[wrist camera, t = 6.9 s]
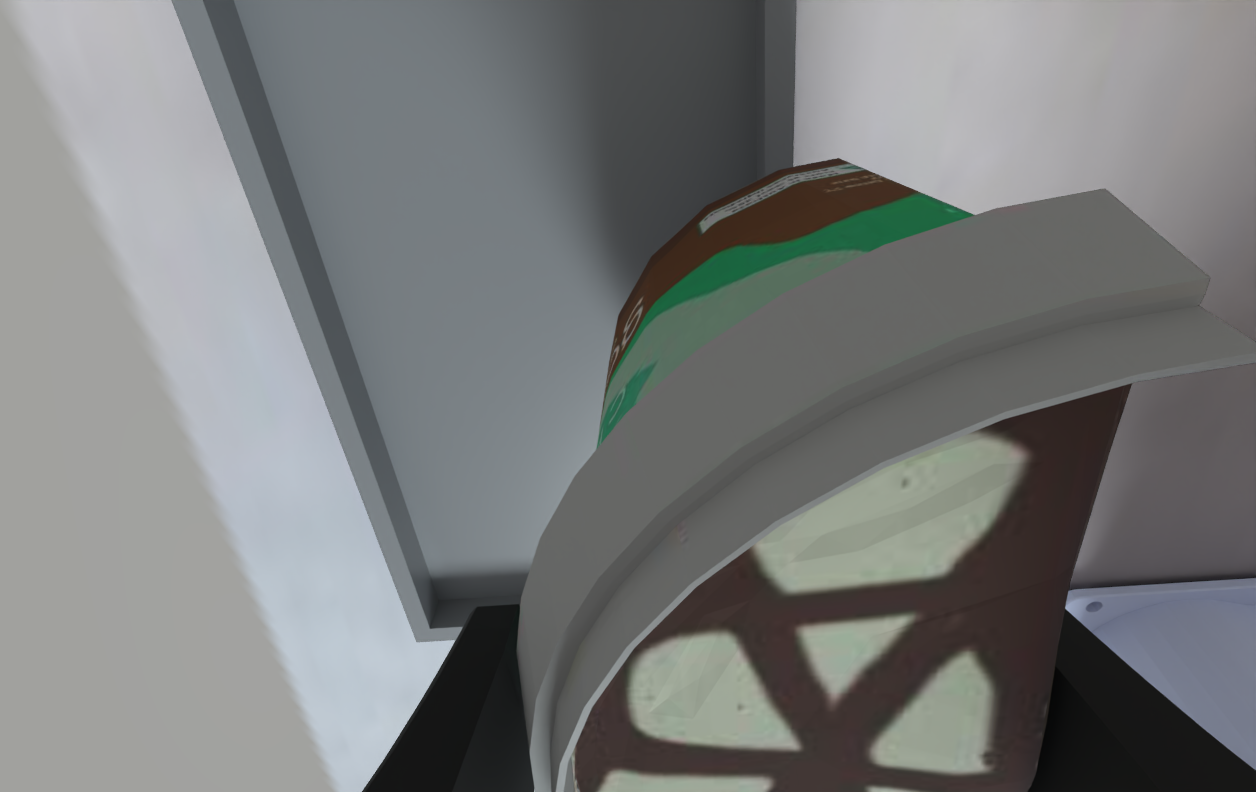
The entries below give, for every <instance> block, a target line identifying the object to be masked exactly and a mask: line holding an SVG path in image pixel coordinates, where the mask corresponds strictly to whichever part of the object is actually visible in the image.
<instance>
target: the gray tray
mask: <svg viewBox="0 0 1256 792" xmlns="http://www.w3.org/2000/svg"><path fill="white" fill-rule="evenodd" d="M172 3H173V5H174V8H175V10H176V13H177V16H178V18H179V21H180V24H181V26H182V29H183V31H184V34H185V37H186V39H187V42H188V45H189V47H190V50H191V52H192V55H193V58H194V60H195V63H196V65H197V68H198V71H199V73H200V76H201V79H202V81H203V84H204V86H205V89H206V92H207V94H208V97H209V100H210V102H211V105H212V107H213V110H214V113H215V115H216V118H217V121H218V123H219V126H220V128H221V131H222V134H223V136H224V139H225V141H226V144H227V147H228V149H229V152H230V155H231V157H232V160H233V162H234V165H235V168H236V170H237V173H238V176H239V178H240V181H241V183H242V186H243V189H244V191H245V194H246V196H247V199H248V202H249V204H250V207H251V210H252V212H253V215H254V217H255V220H256V223H257V225H258V228H259V231H260V233H261V236H262V238H263V241H264V244H265V246H266V249H267V252H268V254H269V257H270V259H271V262H272V265H273V267H274V270H275V272H276V275H277V278H278V280H279V283H280V286H281V288H282V291H283V293H284V296H285V299H286V301H287V304H288V307H289V309H290V312H291V314H292V317H293V320H294V322H295V325H296V327H297V330H298V333H299V335H300V338H301V341H302V343H303V346H304V348H305V351H306V354H307V356H308V359H309V362H310V364H311V367H312V369H313V372H314V375H315V377H316V380H317V383H318V385H319V388H320V390H321V393H322V396H323V398H324V401H325V403H326V406H327V409H328V411H329V414H330V417H331V419H332V422H333V424H334V427H335V430H336V432H337V435H338V438H339V440H340V443H341V445H342V448H343V451H344V453H345V456H346V458H347V461H348V464H349V466H350V469H351V472H352V474H353V477H354V479H355V482H356V485H357V487H358V490H359V493H360V495H361V498H362V500H363V503H364V506H365V508H366V511H367V514H368V516H369V519H370V521H371V524H372V527H373V529H374V532H375V534H376V537H377V540H378V542H379V545H380V548H381V550H382V553H383V555H384V558H385V561H386V563H387V566H388V569H389V571H390V574H391V576H392V579H393V582H394V584H395V587H396V589H397V592H398V595H399V597H400V600H401V603H402V605H403V608H404V610H405V613H406V616H407V618H408V621H409V624H410V626H411V629H412V631H413V634H414V637H415V639H416V642H429V641H445V640H456V639H457V637H458V635H459V634H460V632H461V630H462V628H463V626H464V624H465V622H466V620H467V619H468V617H469V615H470V613H471V612H472V611H473V610H474V609H475V608H476V607H479V606H495V605H511V604H519V606H520V604H521V596H522V593H523V590H524V587H525V583H526V580H527V577H528V574H529V571H530V568H531V565H532V561H533V558H534V555H535V552H536V549H537V546H538V543H539V539H540V537H541V536H542V534H543V532H544V530H545V528H546V527H547V525H548V523H549V521H550V519H551V518H552V516H553V514H554V512H555V510H556V509H557V507H558V505H559V503H560V501H561V500H562V498H563V496H564V494H565V492H566V491H567V489H568V487H569V485H570V484H571V482H572V480H573V478H574V476H575V475H576V474H577V473H578V471H579V470H580V469H581V468H582V467H583V465H584V464H585V463H586V462H587V460H588V459H589V458H590V457H591V456H592V454H593V453H594V452H595V451H596V448H597V441H598V435H599V428H600V421H601V414H602V407H603V401H604V394H605V387H606V380H607V373H608V366H609V360H610V355H611V350H612V345H613V340H614V335H615V329H616V324H617V319H618V315H619V313H620V311H621V309H622V308H623V306H624V304H625V302H626V300H627V299H628V297H629V295H630V293H631V291H632V290H633V288H634V286H635V284H636V283H637V281H638V279H639V277H640V275H641V274H642V272H643V270H644V268H645V267H646V265H647V263H648V261H649V259H650V258H651V256H652V255H653V254H654V253H655V252H656V251H658V250H659V249H660V248H661V247H662V246H663V245H664V244H665V243H666V242H667V241H668V240H669V239H671V238H672V237H673V236H674V235H675V234H676V233H677V232H678V231H679V230H680V229H681V228H682V227H684V226H685V225H686V224H687V223H688V222H689V221H690V220H691V219H692V218H693V217H694V216H695V215H696V214H698V213H699V212H700V211H701V210H702V209H703V208H704V207H705V206H706V205H708V204H710V203H712V202H714V201H716V200H718V199H720V198H722V197H724V196H726V195H728V194H730V193H732V192H735V191H737V190H739V189H741V188H743V187H745V186H747V185H749V184H751V183H753V182H755V181H757V180H759V179H761V178H763V177H765V176H767V175H769V174H771V173H773V172H775V171H777V170H780V169H786V168H791V167H793V140H794V92H795V44H796V0H172Z"/></svg>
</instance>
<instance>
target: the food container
mask: <svg viewBox="0 0 1256 792" xmlns="http://www.w3.org/2000/svg"><path fill="white" fill-rule="evenodd" d="M1209 281H1210V277H1209V276H1208V275H1206V274H1205V273H1204V272H1203V271H1202V270H1200V269H1199V268H1198V267H1197V266H1196V265H1195V264H1193V263H1192V262H1191V261H1190V260H1189V259H1188V258H1186V257H1185V256H1184V255H1183V254H1182V253H1180V252H1179V251H1178V250H1177V249H1176V248H1175V247H1173V246H1172V245H1171V244H1170V243H1169V242H1167V241H1166V240H1165V239H1164V238H1163V237H1162V236H1160V235H1159V234H1158V233H1157V232H1156V231H1154V230H1153V229H1152V228H1151V227H1150V226H1149V225H1147V224H1146V223H1145V222H1144V221H1143V220H1142V219H1140V218H1139V217H1138V216H1137V215H1136V214H1134V213H1133V212H1132V211H1131V210H1130V209H1129V208H1127V207H1126V206H1125V205H1124V204H1123V203H1121V202H1120V201H1119V200H1118V199H1117V198H1116V197H1114V196H1113V195H1112V194H1111V193H1110V192H1109V191H1107V190H1106V189H1099V190H1094V191H1088V192H1083V193H1078V194H1072V195H1067V196H1061V197H1056V198H1051V199H1045V200H1040V201H1034V202H1029V203H1023V204H1018V205H1013V206H1007V207H1002V208H996V209H993V210H990V211H987V212H984V213H981V214H978V215H973V214H971V213H968V212H966V211H964V210H961V209H959V208H957V207H954V206H952V205H949V204H947V203H945V202H942V201H940V200H937V199H935V198H933V197H930V196H928V195H925V194H923V193H921V192H918V191H916V190H913V189H911V188H909V187H906V186H904V185H901V184H899V183H897V182H894V181H892V180H889V179H887V178H885V177H882V176H880V175H877V174H875V173H873V172H870V171H868V170H865V169H863V168H861V167H858V166H856V165H853V164H851V163H849V162H846V161H844V160H841V159H839V158H837V159H832V160H827V161H822V162H817V163H811V164H806V165H801V166H796V167H791V168H786V169H780V170H777V171H775V172H773V173H771V174H769V175H767V176H765V177H763V178H761V179H759V180H757V181H755V182H753V183H751V184H749V185H747V186H745V187H743V188H741V189H739V190H737V191H735V192H732V193H730V194H728V195H726V196H724V197H722V198H720V199H718V200H716V201H714V202H712V203H710V204H708V205H706V206H705V207H704V208H703V209H702V210H701V211H700V212H699V213H698V214H696V215H695V216H694V217H693V218H692V219H691V220H690V221H689V222H688V223H687V224H686V225H685V226H684V227H682V228H681V229H680V230H679V231H678V232H677V233H676V234H675V235H674V236H673V237H672V238H671V239H669V240H668V241H667V242H666V243H665V244H664V245H663V246H662V247H661V248H660V249H659V250H658V251H656V252H655V253H654V254H653V255H652V256H651V258H650V259H649V261H648V263H647V265H646V267H645V268H644V270H643V272H642V274H641V275H640V277H639V279H638V281H637V283H636V284H635V286H634V288H633V290H632V291H631V293H630V295H629V297H628V299H627V300H626V302H625V304H624V306H623V308H622V309H621V311H620V313H619V315H618V319H617V324H616V329H615V335H614V340H613V345H612V350H611V355H610V360H609V366H608V373H607V380H606V387H605V394H604V401H603V407H602V414H601V421H600V428H599V435H598V441H597V448H596V451H595V452H594V453H593V454H592V456H591V457H590V458H589V459H588V460H587V462H586V463H585V464H584V465H583V467H582V468H581V469H580V470H579V471H578V473H577V474H576V475H575V476H574V478H573V480H572V482H571V484H570V485H569V487H568V489H567V491H566V492H565V494H564V496H563V498H562V500H561V501H560V503H559V505H558V507H557V509H556V510H555V512H554V514H553V516H552V518H551V519H550V521H549V523H548V525H547V527H546V528H545V530H544V532H543V534H542V536H541V537H540V539H539V543H538V546H537V549H536V552H535V555H534V558H533V561H532V565H531V568H530V571H529V574H528V577H527V580H526V583H525V587H524V590H523V593H522V596H521V604H520V616H519V627H518V639H517V651H516V652H517V660H518V667H519V675H520V683H521V691H522V698H523V706H524V714H525V722H526V729H527V737H528V745H529V753H530V760H531V767H532V774H533V781H534V788H535V792H1028V790H1029V788H1030V787H1031V785H1032V782H1033V780H1034V777H1035V774H1036V771H1037V765H1038V760H1039V756H1040V751H1041V746H1042V742H1043V737H1044V732H1045V728H1046V723H1047V717H1048V710H1049V704H1050V697H1051V690H1052V683H1053V676H1054V670H1055V663H1056V656H1057V649H1058V643H1059V638H1060V633H1061V627H1062V622H1063V617H1064V612H1065V606H1066V601H1067V596H1068V591H1069V585H1070V581H1071V577H1072V574H1073V571H1074V568H1075V564H1076V561H1077V558H1078V554H1079V551H1080V548H1081V545H1082V541H1083V538H1084V535H1085V531H1086V528H1087V525H1088V522H1089V518H1090V515H1091V512H1092V508H1093V505H1094V502H1095V499H1096V495H1097V492H1098V489H1099V485H1100V482H1101V479H1102V476H1103V472H1104V469H1105V466H1106V462H1107V459H1108V456H1109V452H1110V449H1111V446H1112V443H1113V440H1114V437H1115V434H1116V431H1117V428H1118V425H1119V422H1120V419H1121V416H1122V413H1123V409H1124V406H1125V403H1126V400H1127V397H1128V394H1129V391H1130V388H1131V385H1132V383H1134V382H1139V381H1146V380H1152V379H1158V378H1164V377H1170V376H1177V375H1183V374H1189V373H1195V372H1201V371H1208V370H1214V369H1220V368H1226V367H1232V366H1239V365H1245V364H1251V363H1256V342H1255V341H1254V340H1252V339H1251V338H1249V337H1247V336H1246V335H1244V334H1243V333H1241V332H1240V331H1238V330H1236V329H1235V328H1233V327H1232V326H1230V325H1229V324H1227V323H1226V322H1224V321H1222V320H1221V319H1219V318H1218V317H1216V316H1215V315H1213V314H1211V313H1210V312H1208V311H1207V310H1205V309H1204V308H1202V307H1200V306H1199V305H1200V303H1201V301H1202V299H1203V297H1204V295H1205V293H1206V290H1207V287H1208V284H1209Z"/></svg>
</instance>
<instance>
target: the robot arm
mask: <svg viewBox="0 0 1256 792" xmlns="http://www.w3.org/2000/svg"><path fill="white" fill-rule="evenodd" d="M519 616H520V606H519V604H511V605H495V606H479V607H476V608H475V609H474V610H473V611H472V612H471V613H470V615H469V617H468V619H467V620H466V622H465V624H464V626H463V628H462V630H461V632H460V634H459V635H458V637H457V639H456V641H455V643H454V644H453V646H452V648H451V650H450V652H449V653H448V655H447V657H446V659H445V660H444V662H443V664H442V666H441V667H440V669H439V671H438V673H437V674H436V676H435V678H434V679H433V681H432V683H431V685H430V686H429V688H428V690H427V691H426V693H425V695H424V696H423V698H422V700H421V701H420V703H419V705H418V706H417V708H416V709H415V711H414V713H413V714H412V716H411V717H410V719H409V721H408V722H407V724H406V725H405V727H404V729H403V730H402V732H401V733H400V735H399V737H398V738H397V740H396V741H395V743H394V745H393V746H392V748H391V749H390V751H389V752H388V754H387V756H386V757H385V759H384V760H383V762H382V763H381V765H380V766H379V768H378V769H377V771H376V772H375V774H374V775H373V776H372V778H371V779H370V781H369V782H368V784H367V785H366V787H365V788H364V789H363V791H362V792H534V789H535V788H534V781H533V774H532V767H531V760H530V753H529V745H528V737H527V729H526V722H525V714H524V706H523V698H522V691H521V683H520V675H519V667H518V660H517V652H516V651H517V639H518V627H519ZM1028 792H1256V578H1247V579H1231V580H1216V581H1200V582H1184V583H1168V584H1152V585H1136V586H1120V587H1104V588H1089V589H1075V590H1070V591H1068V596H1067V601H1066V606H1065V612H1064V617H1063V622H1062V627H1061V633H1060V638H1059V643H1058V649H1057V656H1056V663H1055V670H1054V676H1053V683H1052V690H1051V697H1050V704H1049V710H1048V717H1047V723H1046V728H1045V732H1044V737H1043V742H1042V746H1041V751H1040V756H1039V760H1038V765H1037V771H1036V774H1035V777H1034V780H1033V782H1032V785H1031V787H1030V788H1029V790H1028Z"/></svg>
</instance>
